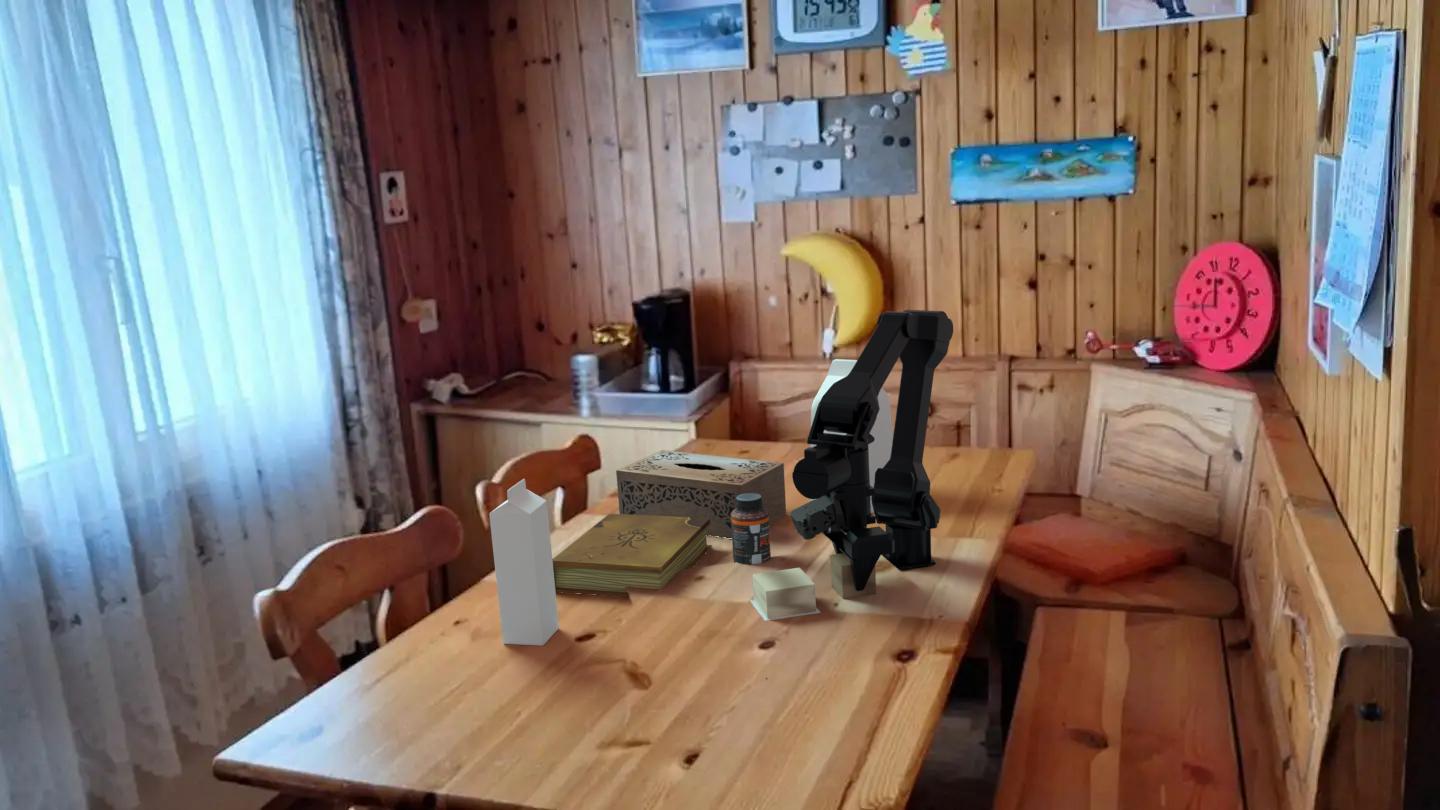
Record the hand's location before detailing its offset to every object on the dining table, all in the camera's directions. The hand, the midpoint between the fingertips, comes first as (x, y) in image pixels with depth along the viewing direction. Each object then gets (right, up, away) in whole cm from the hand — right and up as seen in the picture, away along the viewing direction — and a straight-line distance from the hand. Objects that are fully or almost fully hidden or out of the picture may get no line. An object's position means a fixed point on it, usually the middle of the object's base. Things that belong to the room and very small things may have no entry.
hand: (853, 583), depth 174 cm
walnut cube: (0, -1, 0) cm, 1 cm away
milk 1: (-45, -7, -6) cm, 46 cm away
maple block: (-10, -3, -4) cm, 11 cm away
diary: (-33, -1, +18) cm, 38 cm away
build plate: (-10, -4, -4) cm, 11 cm away
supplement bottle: (-14, 0, +16) cm, 22 cm away
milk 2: (+5, +8, +46) cm, 47 cm away
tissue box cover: (-22, +5, +41) cm, 47 cm away
